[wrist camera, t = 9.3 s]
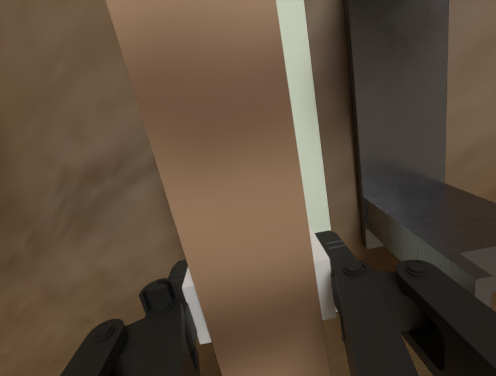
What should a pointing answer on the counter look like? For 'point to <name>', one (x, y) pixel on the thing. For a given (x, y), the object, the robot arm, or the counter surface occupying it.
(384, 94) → the rack
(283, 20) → the mat
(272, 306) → the rail
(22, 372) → the counter surface
